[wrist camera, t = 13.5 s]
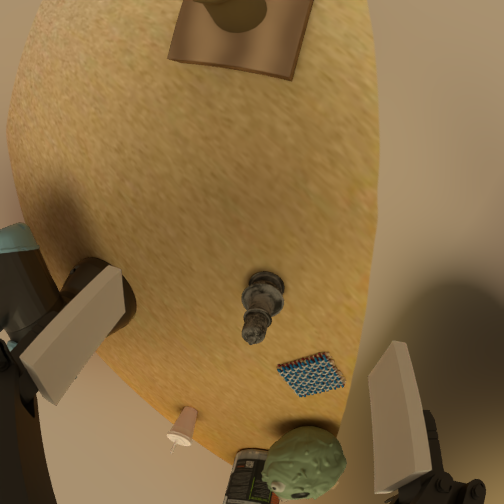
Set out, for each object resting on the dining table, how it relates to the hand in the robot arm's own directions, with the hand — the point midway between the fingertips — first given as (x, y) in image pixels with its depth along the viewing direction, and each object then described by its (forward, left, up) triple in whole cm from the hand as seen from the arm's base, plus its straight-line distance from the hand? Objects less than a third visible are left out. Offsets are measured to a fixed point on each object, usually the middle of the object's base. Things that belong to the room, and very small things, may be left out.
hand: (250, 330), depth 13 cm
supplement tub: (+17, -79, -26) cm, 85 cm away
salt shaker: (+1, -15, -26) cm, 30 cm away
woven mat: (+14, -32, -26) cm, 44 cm away
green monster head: (+22, -53, -26) cm, 63 cm away
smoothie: (-7, -60, -26) cm, 66 cm away
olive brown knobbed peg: (-10, +19, -22) cm, 31 cm away
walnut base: (-10, +20, -26) cm, 34 cm away
